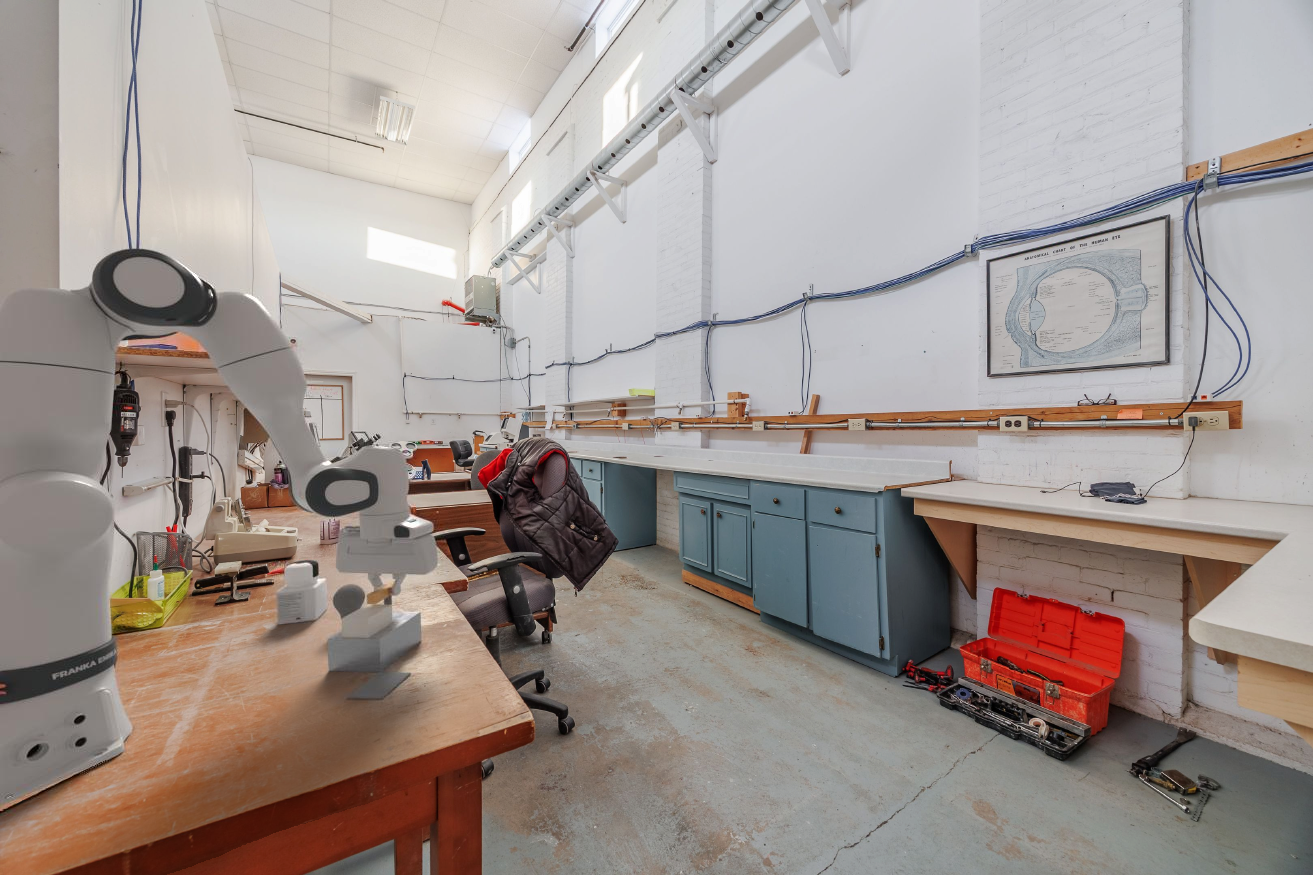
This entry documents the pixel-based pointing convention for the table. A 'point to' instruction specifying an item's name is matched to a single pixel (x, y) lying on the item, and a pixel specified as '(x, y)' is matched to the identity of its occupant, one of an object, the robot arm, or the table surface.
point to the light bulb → (348, 599)
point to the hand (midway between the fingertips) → (387, 594)
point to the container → (301, 593)
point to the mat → (379, 685)
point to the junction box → (375, 645)
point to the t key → (380, 595)
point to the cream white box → (366, 621)
